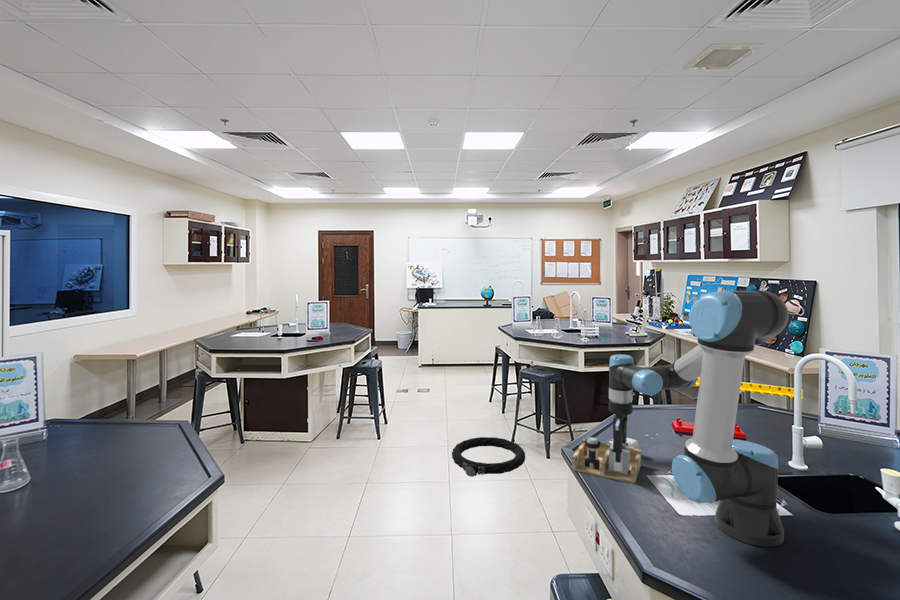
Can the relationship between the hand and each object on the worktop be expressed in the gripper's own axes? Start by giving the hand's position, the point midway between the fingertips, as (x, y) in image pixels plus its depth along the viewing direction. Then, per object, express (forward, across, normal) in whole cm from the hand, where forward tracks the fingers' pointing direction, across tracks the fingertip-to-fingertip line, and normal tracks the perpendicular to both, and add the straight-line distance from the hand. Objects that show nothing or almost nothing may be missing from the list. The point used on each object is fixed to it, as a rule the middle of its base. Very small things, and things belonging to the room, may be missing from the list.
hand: (619, 467), depth 148 cm
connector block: (+1, 0, 0) cm, 1 cm away
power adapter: (+3, +19, +2) cm, 19 cm away
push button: (+2, -1, +10) cm, 10 cm away
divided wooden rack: (+2, +3, +5) cm, 6 cm away
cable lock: (+3, -12, +45) cm, 46 cm away
